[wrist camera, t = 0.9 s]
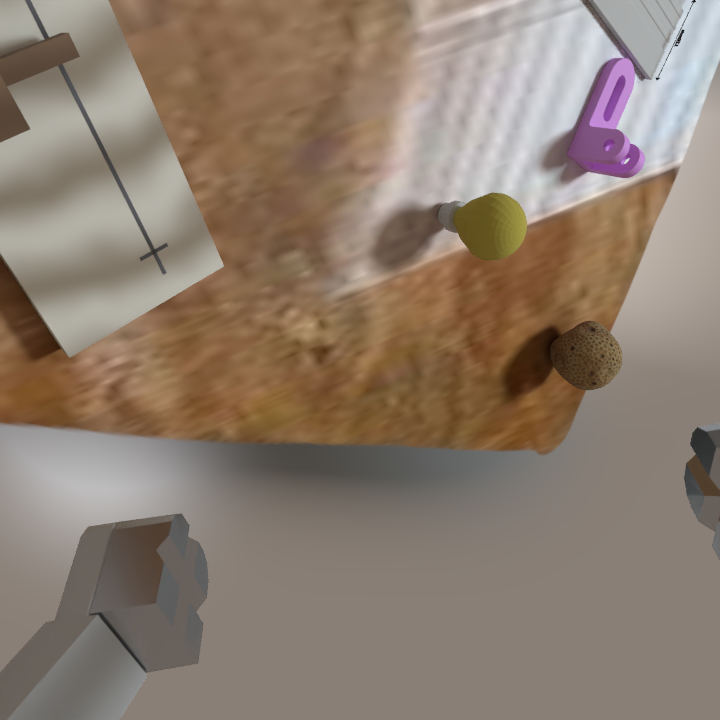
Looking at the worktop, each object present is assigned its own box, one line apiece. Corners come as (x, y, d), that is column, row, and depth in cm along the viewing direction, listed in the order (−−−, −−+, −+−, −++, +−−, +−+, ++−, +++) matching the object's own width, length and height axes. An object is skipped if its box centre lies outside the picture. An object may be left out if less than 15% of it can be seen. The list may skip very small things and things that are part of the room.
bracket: (586, 171, 86) (636, 180, 81) (565, 154, 82) (616, 162, 77) (630, 71, 84) (683, 74, 79) (610, 49, 80) (665, 50, 75)
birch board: (-160, 15, 38) (-157, 14, 36) (69, -62, 43) (80, -65, 42) (61, 348, 52) (69, 357, 51) (212, 260, 57) (224, 266, 56)
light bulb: (447, 255, 75) (517, 278, 68) (413, 226, 70) (484, 249, 63) (476, 201, 75) (550, 220, 68) (444, 169, 70) (519, 185, 63)
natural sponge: (556, 302, 92) (622, 325, 85) (583, 325, 98) (646, 348, 91) (525, 361, 92) (587, 389, 85) (553, 380, 98) (614, 407, 91)
